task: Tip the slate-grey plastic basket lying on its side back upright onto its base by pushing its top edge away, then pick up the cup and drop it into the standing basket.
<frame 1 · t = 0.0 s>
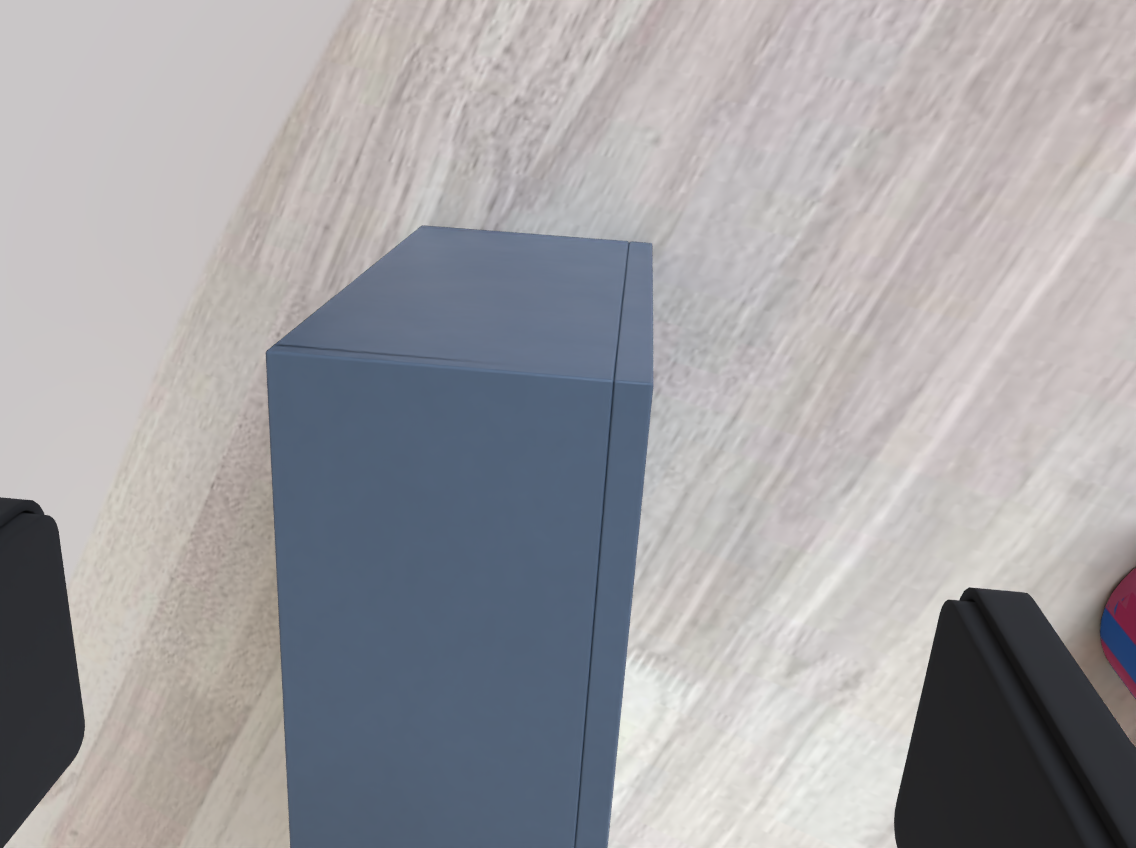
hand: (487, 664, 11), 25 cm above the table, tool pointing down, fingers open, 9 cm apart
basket: (526, 423, 37), on the table
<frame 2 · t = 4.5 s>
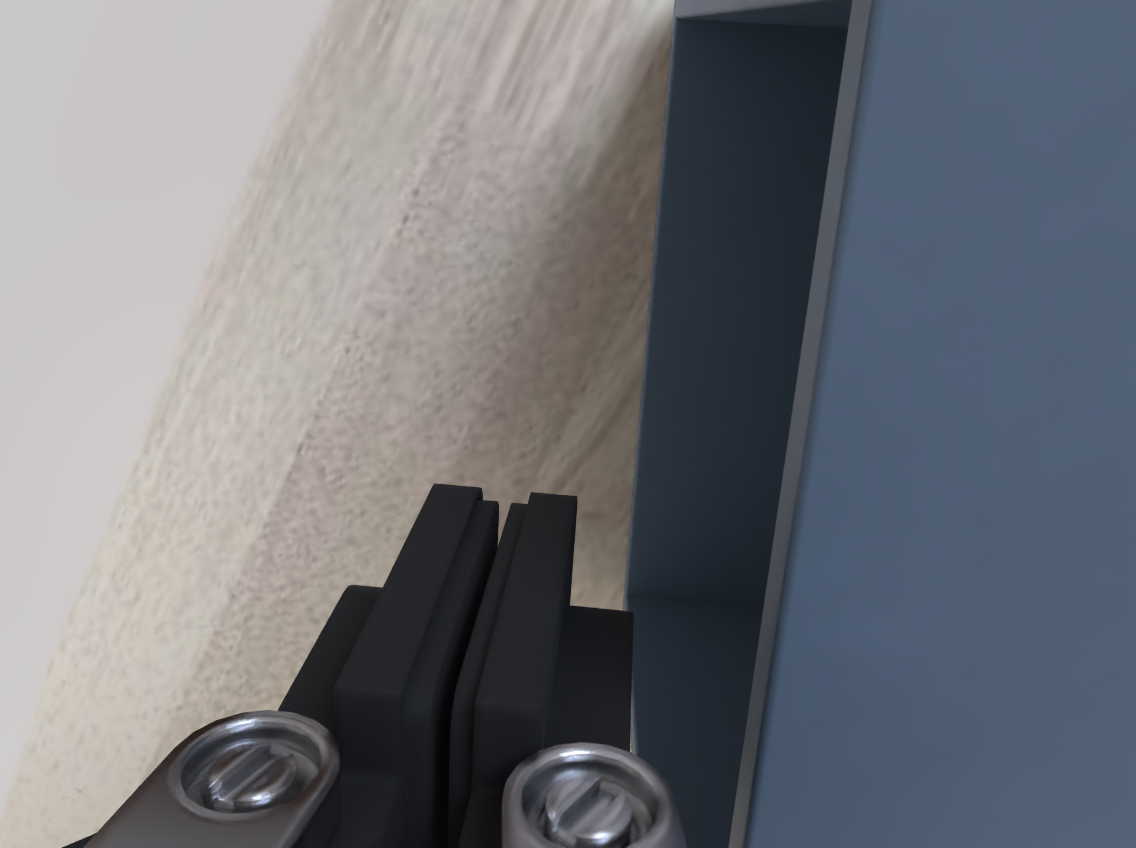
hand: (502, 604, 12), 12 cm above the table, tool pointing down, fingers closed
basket: (826, 341, 22), on the table
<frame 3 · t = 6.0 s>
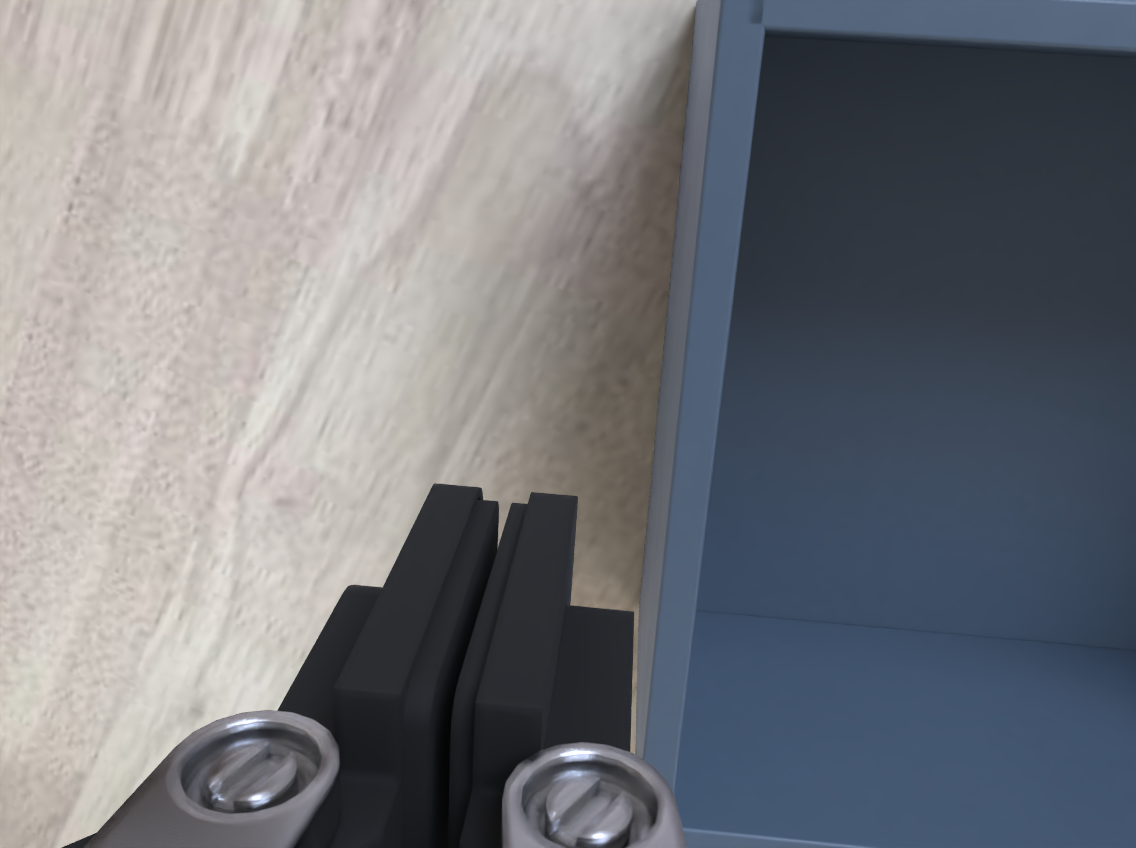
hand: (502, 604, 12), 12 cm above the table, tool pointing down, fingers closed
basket: (666, 398, 19), point 4 cm above the table, tilted 90°
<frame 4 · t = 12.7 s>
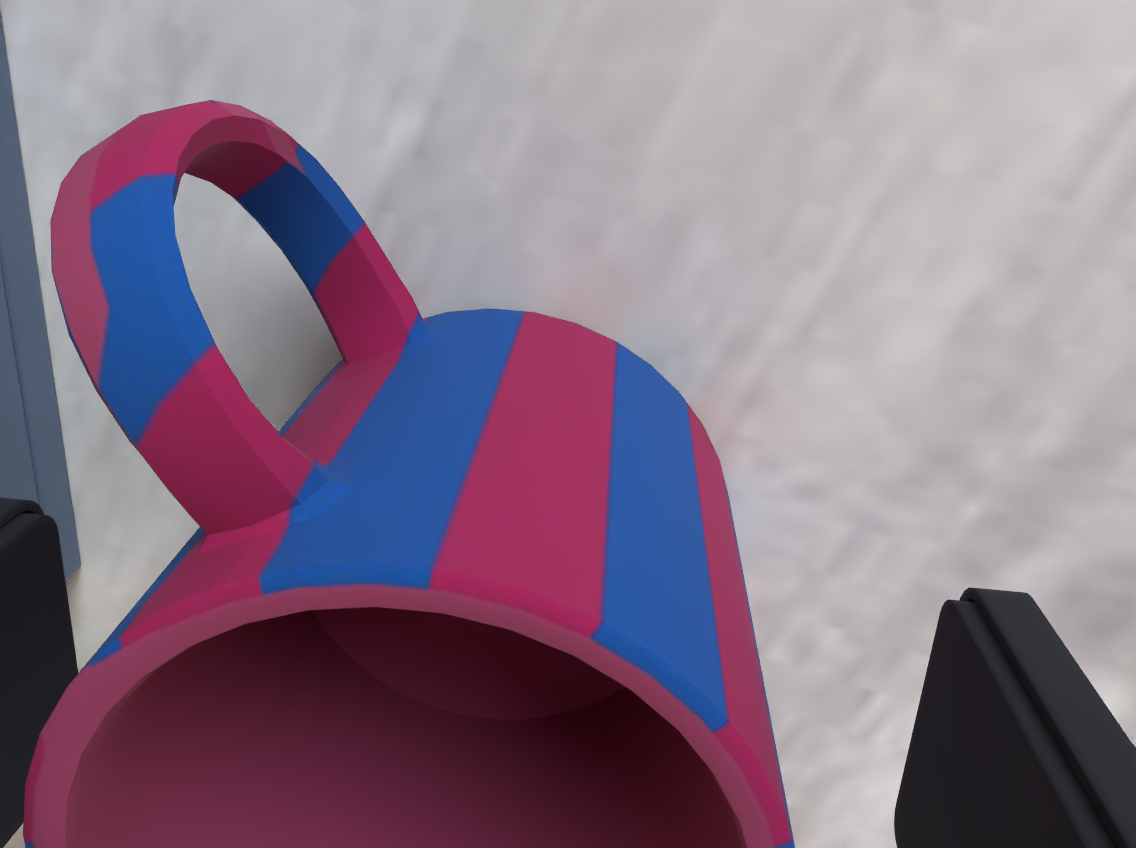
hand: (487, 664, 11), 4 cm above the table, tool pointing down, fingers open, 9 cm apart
cup: (473, 418, 14), on the table
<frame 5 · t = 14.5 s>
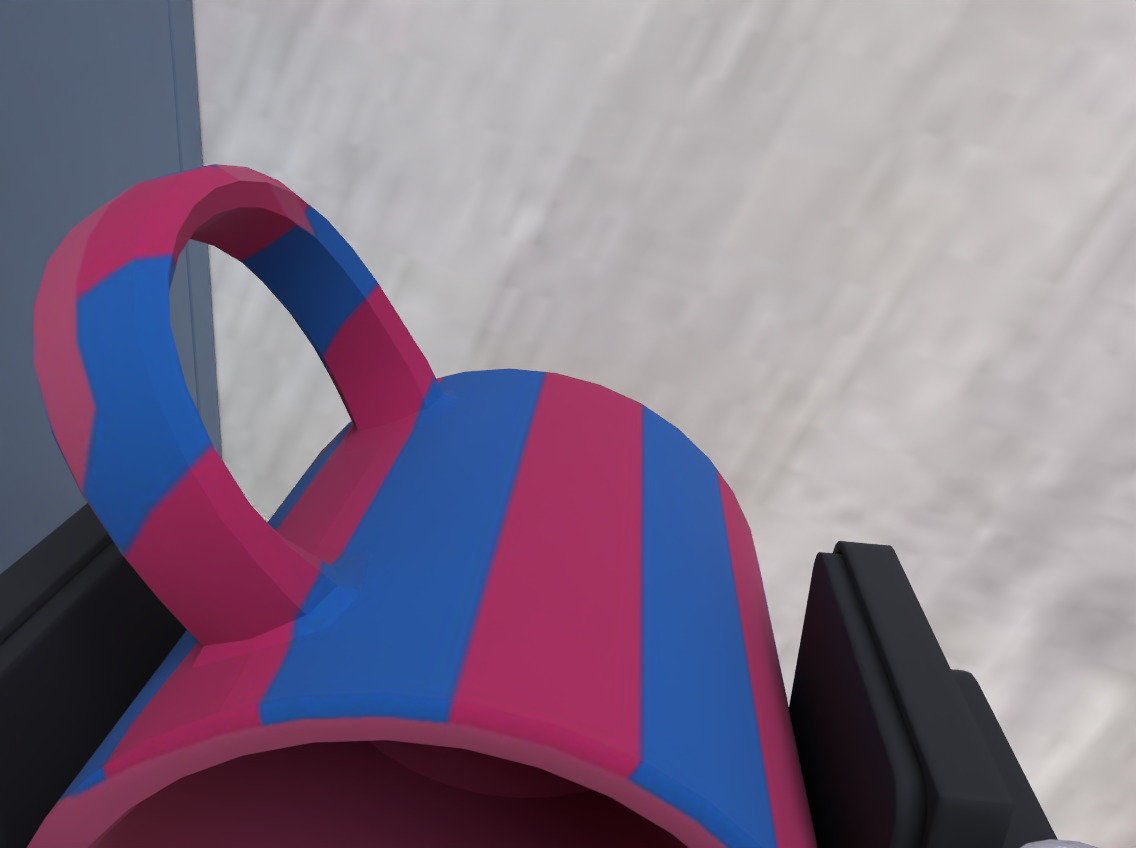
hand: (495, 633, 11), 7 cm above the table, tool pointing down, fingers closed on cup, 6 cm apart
cup: (489, 481, 14), point 4 cm above the table, touching gripper
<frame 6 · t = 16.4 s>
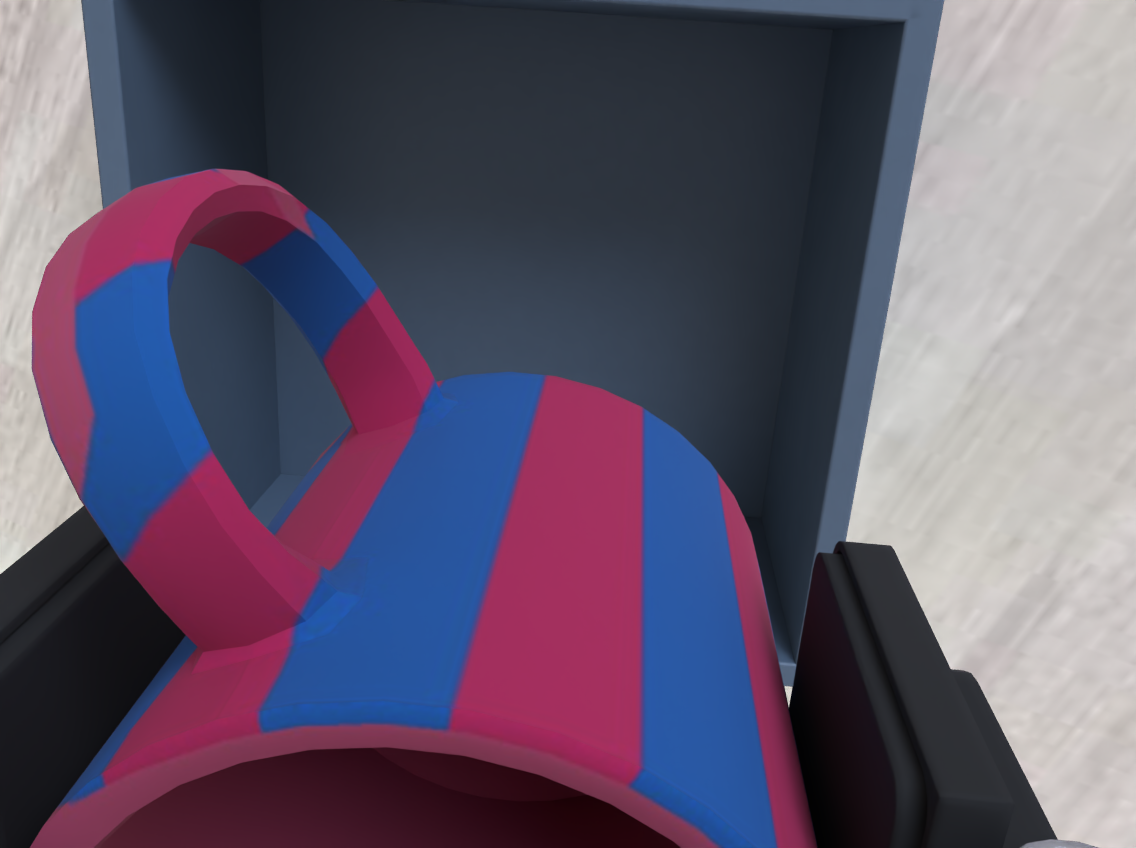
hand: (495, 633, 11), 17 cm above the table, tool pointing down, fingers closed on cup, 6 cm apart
cup: (489, 484, 14), point 14 cm above the table, touching gripper
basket: (198, 277, 24), point 4 cm above the table, tilted 90°
when the fingers open (7 cm above the table, at t = 19.5 s): cup drops 4 cm, resting on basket.
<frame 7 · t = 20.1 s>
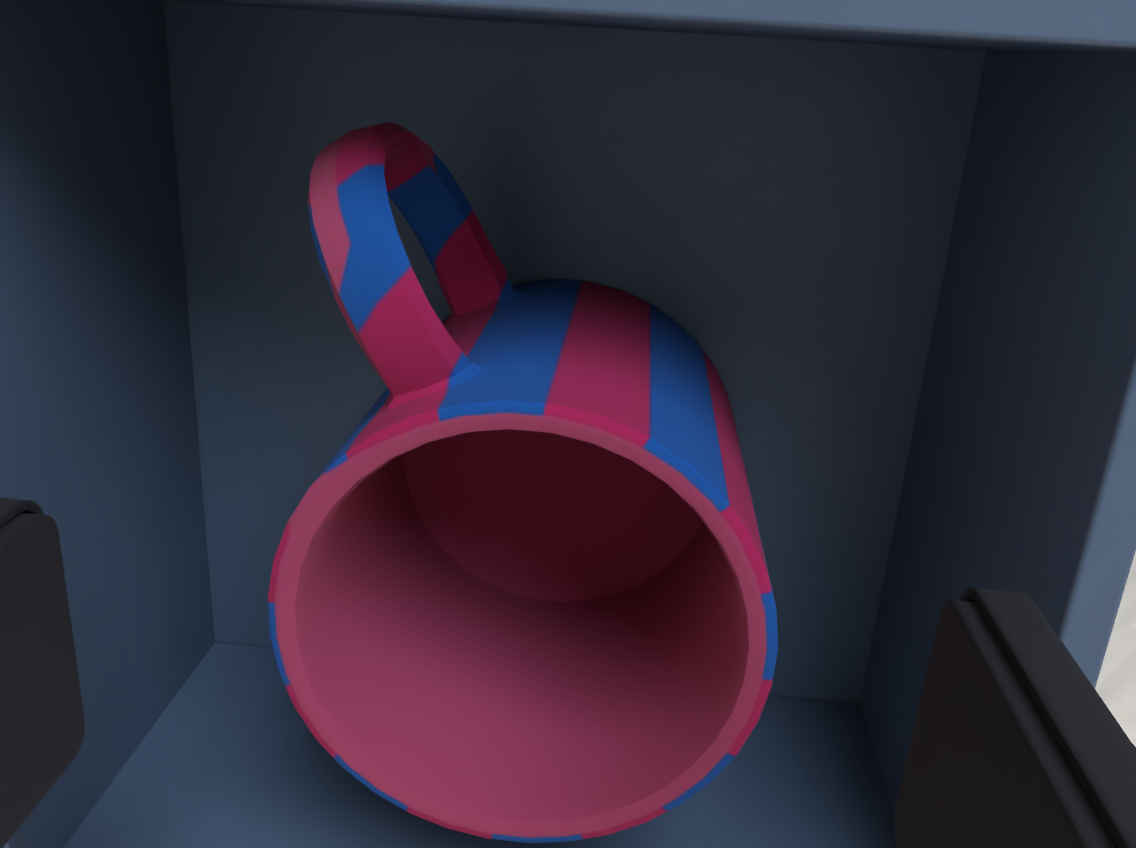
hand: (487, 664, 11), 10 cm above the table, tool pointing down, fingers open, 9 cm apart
cup: (540, 365, 19), point 1 cm above the table, touching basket
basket: (73, 412, 16), point 4 cm above the table, tilted 90°, touching cup
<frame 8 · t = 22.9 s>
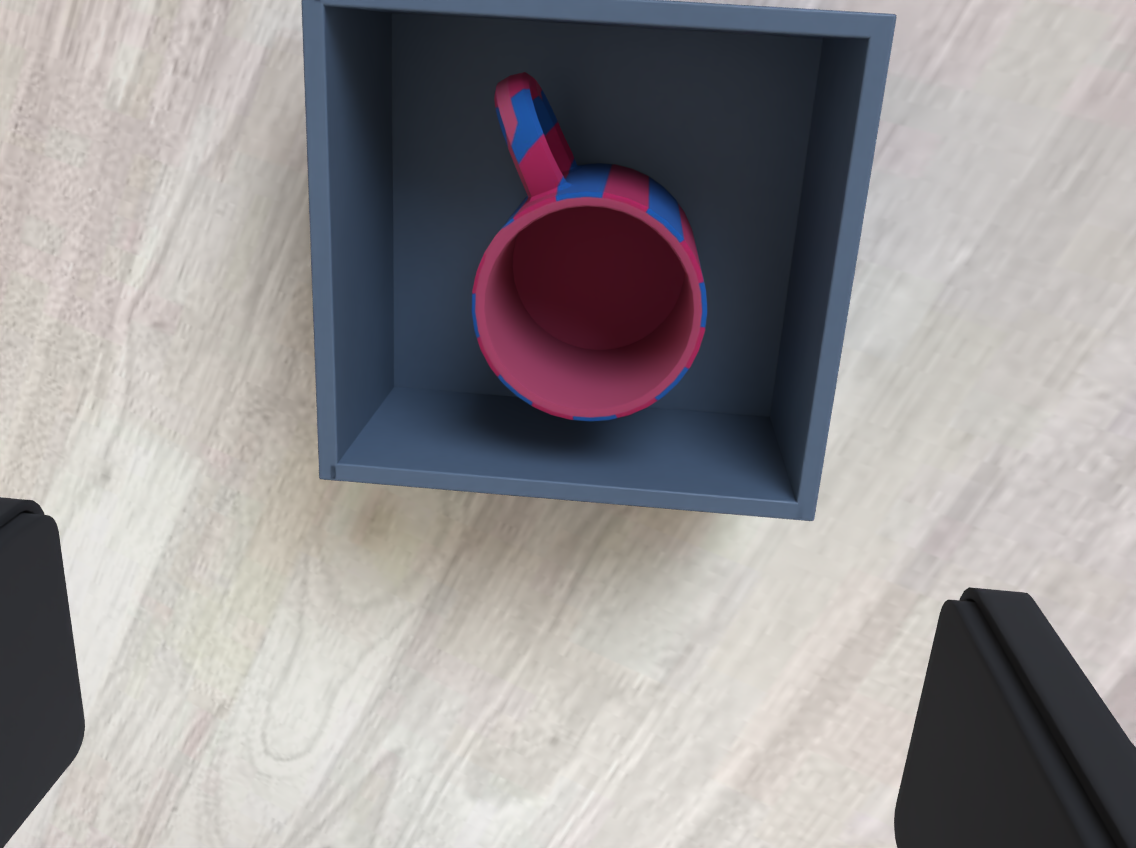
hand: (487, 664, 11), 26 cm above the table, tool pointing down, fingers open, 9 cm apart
cup: (588, 214, 34), point 1 cm above the table, touching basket
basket: (350, 227, 32), point 4 cm above the table, tilted 90°, touching cup
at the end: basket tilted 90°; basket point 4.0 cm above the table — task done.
